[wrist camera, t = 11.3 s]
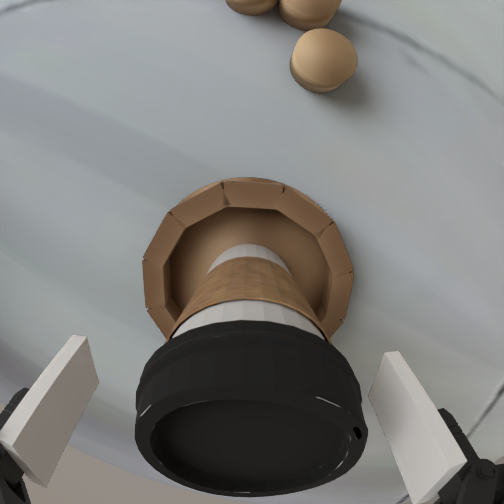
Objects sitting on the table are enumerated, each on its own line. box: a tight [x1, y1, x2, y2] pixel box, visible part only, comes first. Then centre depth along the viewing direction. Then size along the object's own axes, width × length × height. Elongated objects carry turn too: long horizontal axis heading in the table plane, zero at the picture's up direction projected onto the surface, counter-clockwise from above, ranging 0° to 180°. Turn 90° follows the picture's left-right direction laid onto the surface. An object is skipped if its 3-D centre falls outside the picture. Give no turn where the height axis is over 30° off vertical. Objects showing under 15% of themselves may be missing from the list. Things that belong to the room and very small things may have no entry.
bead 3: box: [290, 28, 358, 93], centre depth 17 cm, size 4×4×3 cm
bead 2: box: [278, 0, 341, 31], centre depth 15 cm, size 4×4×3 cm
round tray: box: [142, 177, 354, 339], centre depth 22 cm, size 15×15×2 cm
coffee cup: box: [135, 244, 368, 497], centre depth 15 cm, size 8×8×15 cm
